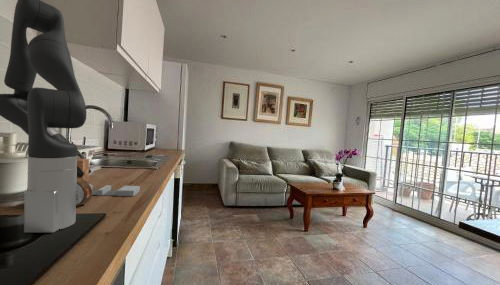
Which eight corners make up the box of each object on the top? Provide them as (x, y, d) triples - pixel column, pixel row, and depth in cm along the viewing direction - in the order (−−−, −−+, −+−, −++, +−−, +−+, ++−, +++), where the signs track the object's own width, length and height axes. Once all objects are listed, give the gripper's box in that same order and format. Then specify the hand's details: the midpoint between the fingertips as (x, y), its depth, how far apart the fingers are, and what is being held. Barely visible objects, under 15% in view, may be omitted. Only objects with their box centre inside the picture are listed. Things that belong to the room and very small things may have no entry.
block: (82, 182, 84) (83, 160, 84) (70, 182, 83) (70, 160, 83) (88, 180, 88) (89, 159, 87) (76, 179, 87) (77, 158, 87)
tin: (92, 205, 74) (93, 178, 73) (84, 208, 71) (85, 180, 70) (49, 200, 75) (49, 174, 75) (39, 203, 72) (39, 176, 72)
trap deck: (133, 196, 85) (133, 189, 85) (65, 194, 82) (65, 188, 82) (139, 191, 92) (139, 185, 92) (76, 189, 89) (76, 183, 89)
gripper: (43, 133, 77) (83, 171, 79) (70, 132, 91) (103, 164, 93) (25, 148, 76) (65, 186, 79) (54, 145, 90) (88, 177, 93)
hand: (85, 174), depth 86 cm, fingers closed on block, 4 cm apart
